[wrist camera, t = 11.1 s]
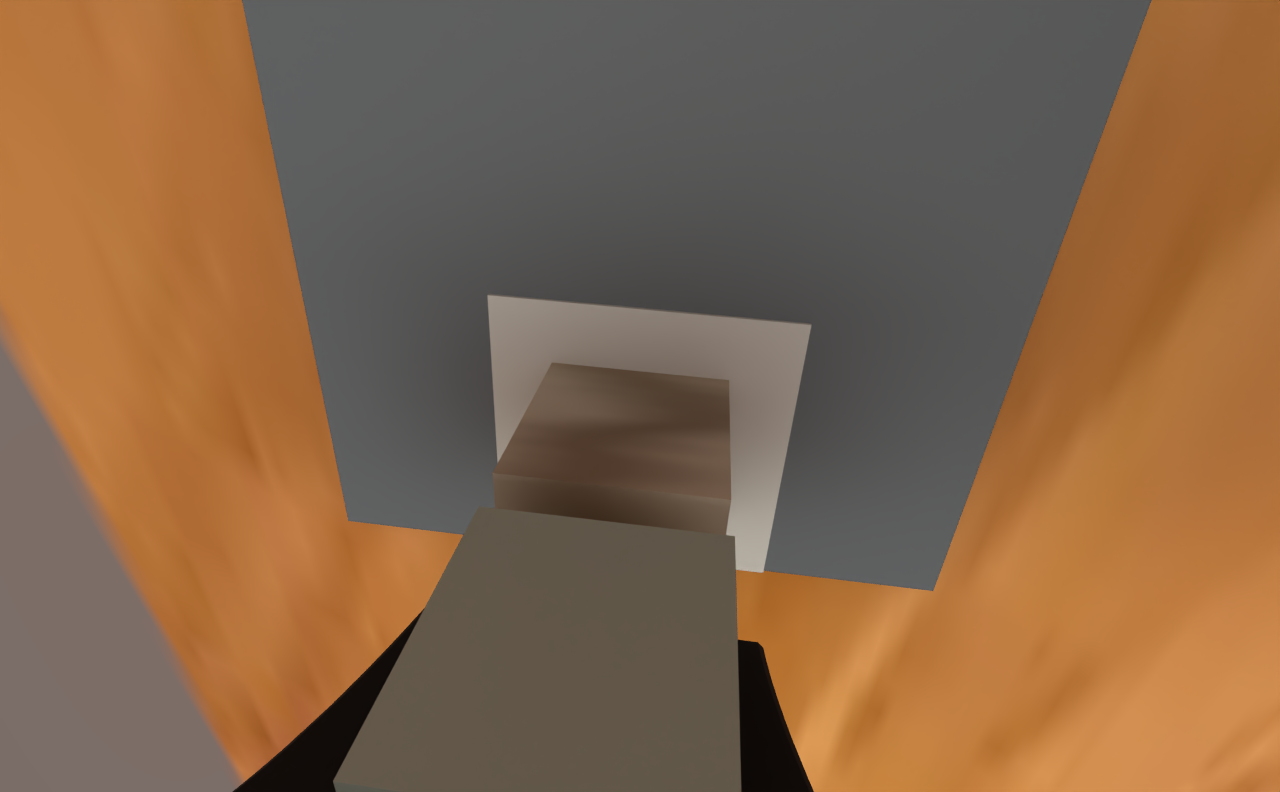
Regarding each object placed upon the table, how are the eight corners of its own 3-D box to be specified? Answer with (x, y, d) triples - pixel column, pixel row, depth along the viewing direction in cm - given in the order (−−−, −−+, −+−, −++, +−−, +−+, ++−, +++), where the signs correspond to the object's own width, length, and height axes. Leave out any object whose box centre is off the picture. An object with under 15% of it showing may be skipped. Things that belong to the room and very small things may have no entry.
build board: (1134, -1, 13) (1155, -3, 12) (927, 576, 20) (934, 593, 19) (249, -50, 14) (227, -54, 13) (357, 508, 21) (346, 522, 20)
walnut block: (729, 380, 17) (731, 499, 12) (709, 521, 19) (705, 665, 14) (552, 362, 17) (492, 472, 13) (553, 503, 19) (503, 639, 15)
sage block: (734, 536, 11) (743, 843, 7) (707, 706, 14) (700, 1020, 9) (478, 506, 12) (333, 780, 7) (492, 677, 14) (387, 966, 10)
